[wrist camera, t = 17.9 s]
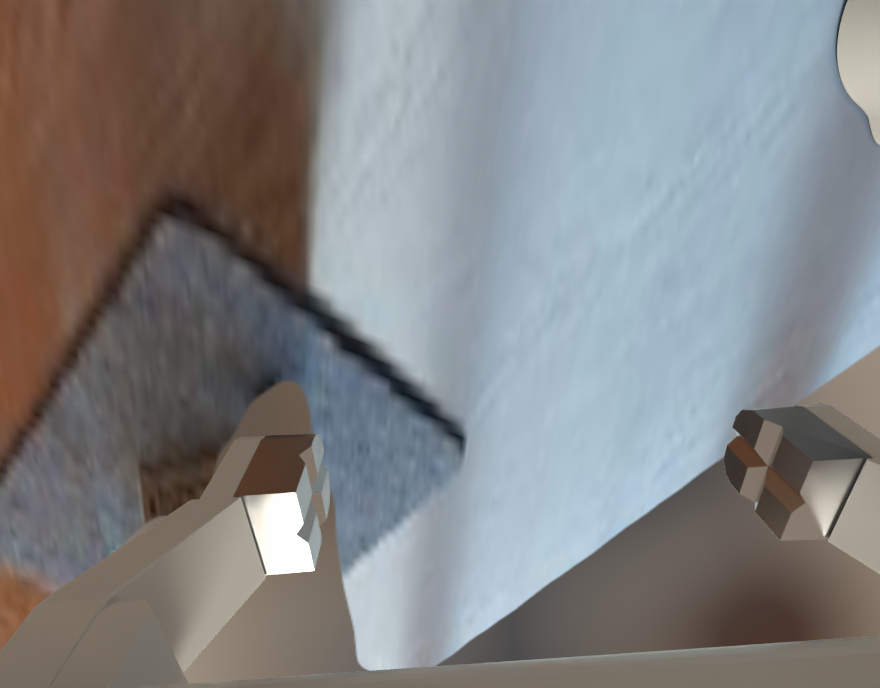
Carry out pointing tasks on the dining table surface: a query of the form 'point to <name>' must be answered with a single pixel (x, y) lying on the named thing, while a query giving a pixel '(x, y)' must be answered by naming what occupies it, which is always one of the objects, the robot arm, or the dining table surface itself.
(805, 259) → the dining table surface
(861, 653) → the robot arm
